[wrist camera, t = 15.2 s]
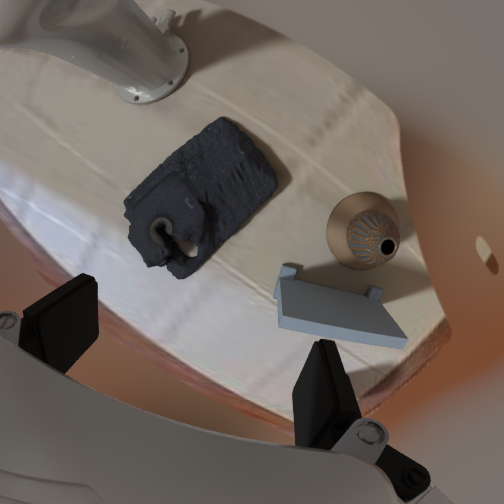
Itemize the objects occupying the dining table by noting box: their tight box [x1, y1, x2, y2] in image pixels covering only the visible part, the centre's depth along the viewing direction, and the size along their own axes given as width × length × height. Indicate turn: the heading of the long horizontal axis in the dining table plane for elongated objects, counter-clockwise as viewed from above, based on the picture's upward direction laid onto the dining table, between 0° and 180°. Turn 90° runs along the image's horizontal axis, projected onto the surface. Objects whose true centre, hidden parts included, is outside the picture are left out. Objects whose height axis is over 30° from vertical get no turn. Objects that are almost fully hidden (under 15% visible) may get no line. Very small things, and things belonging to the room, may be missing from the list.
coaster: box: [327, 193, 399, 270], centre depth 37 cm, size 11×11×1 cm
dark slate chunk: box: [124, 117, 278, 279], centre depth 35 cm, size 15×22×5 cm
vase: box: [346, 210, 400, 265], centre depth 32 cm, size 7×7×9 cm
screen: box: [273, 264, 408, 349], centre depth 34 cm, size 5×16×12 cm, turn 77°
